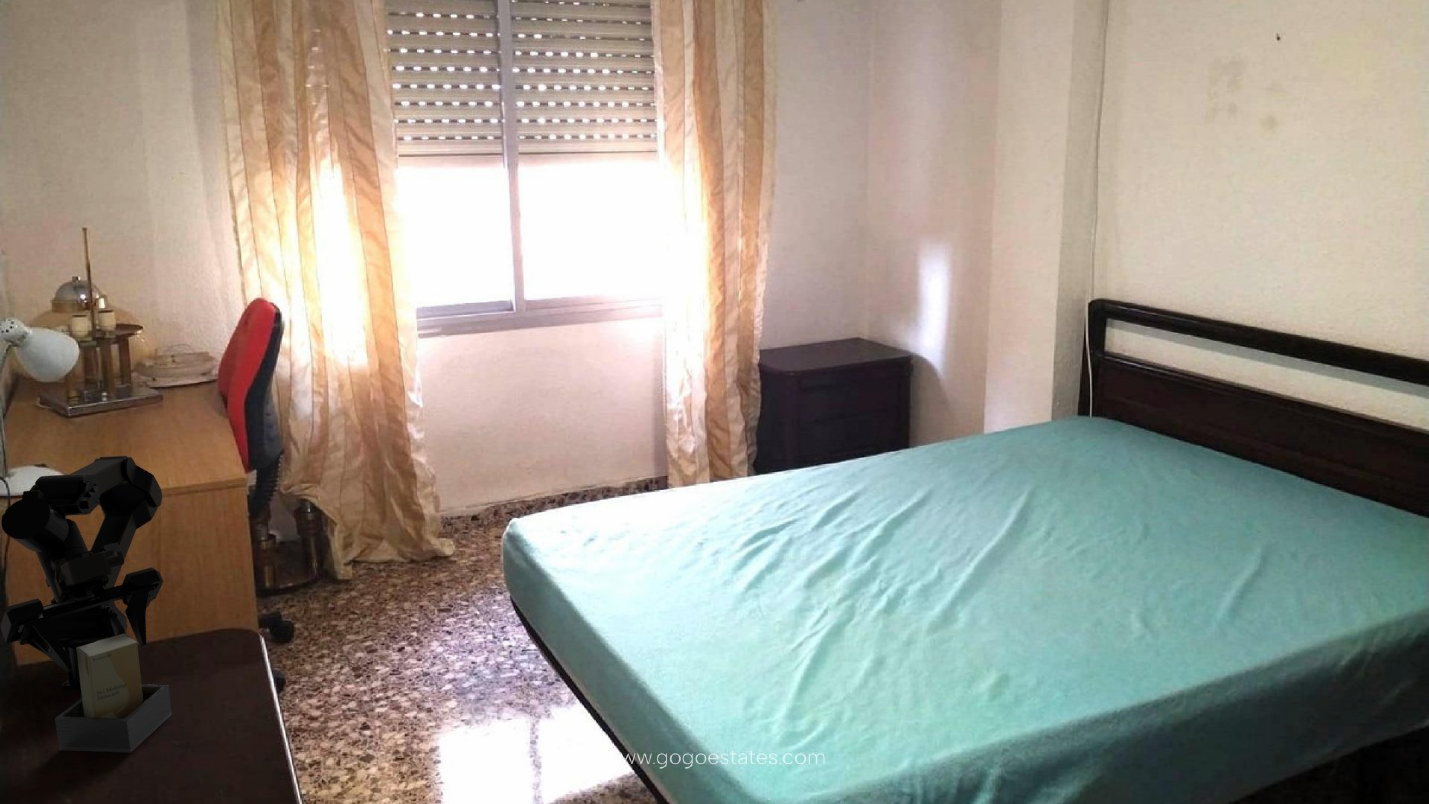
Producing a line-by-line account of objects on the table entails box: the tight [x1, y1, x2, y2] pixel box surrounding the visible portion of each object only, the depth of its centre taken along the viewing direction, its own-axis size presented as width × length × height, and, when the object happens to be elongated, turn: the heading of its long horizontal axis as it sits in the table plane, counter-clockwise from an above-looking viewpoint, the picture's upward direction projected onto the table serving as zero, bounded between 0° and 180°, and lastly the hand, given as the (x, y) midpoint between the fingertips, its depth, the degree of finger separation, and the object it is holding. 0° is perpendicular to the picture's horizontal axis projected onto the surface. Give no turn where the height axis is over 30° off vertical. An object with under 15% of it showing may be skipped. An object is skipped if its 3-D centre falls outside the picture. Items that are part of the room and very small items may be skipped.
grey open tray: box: [54, 683, 173, 753], centre depth 142 cm, size 10×10×4 cm
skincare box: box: [76, 633, 143, 719], centre depth 142 cm, size 6×4×12 cm
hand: (107, 658), depth 141 cm, fingers open, 9 cm apart
